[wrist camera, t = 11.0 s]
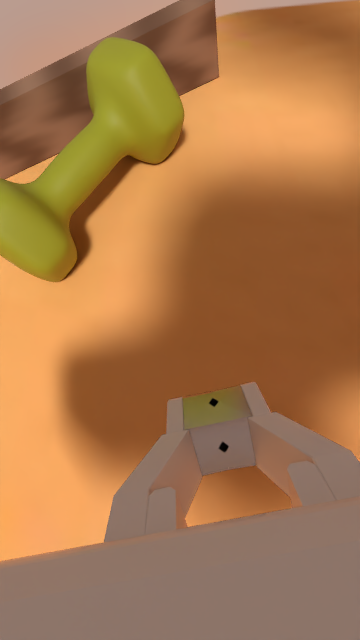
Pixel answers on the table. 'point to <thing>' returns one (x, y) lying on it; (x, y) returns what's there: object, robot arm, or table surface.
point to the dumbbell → (91, 155)
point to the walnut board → (71, 83)
